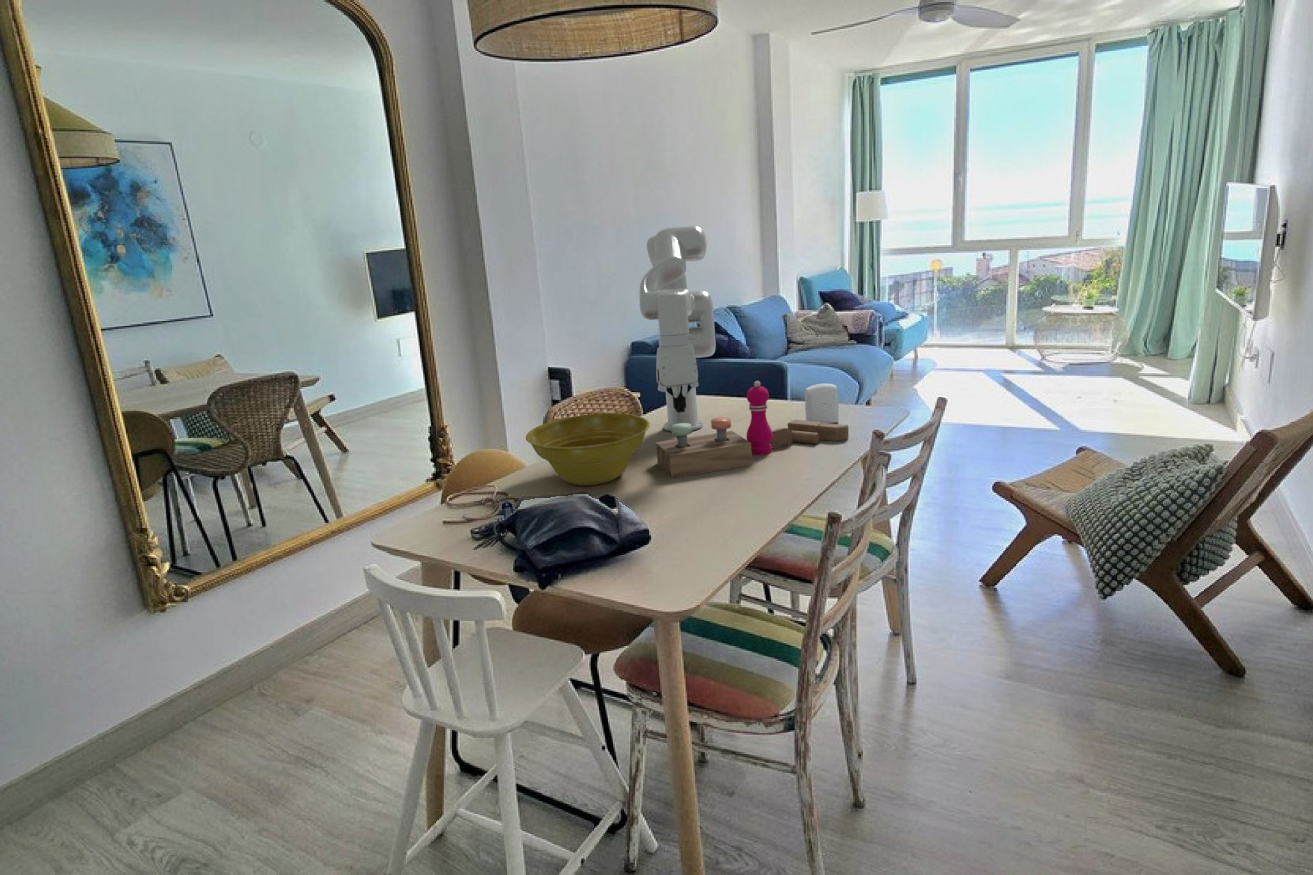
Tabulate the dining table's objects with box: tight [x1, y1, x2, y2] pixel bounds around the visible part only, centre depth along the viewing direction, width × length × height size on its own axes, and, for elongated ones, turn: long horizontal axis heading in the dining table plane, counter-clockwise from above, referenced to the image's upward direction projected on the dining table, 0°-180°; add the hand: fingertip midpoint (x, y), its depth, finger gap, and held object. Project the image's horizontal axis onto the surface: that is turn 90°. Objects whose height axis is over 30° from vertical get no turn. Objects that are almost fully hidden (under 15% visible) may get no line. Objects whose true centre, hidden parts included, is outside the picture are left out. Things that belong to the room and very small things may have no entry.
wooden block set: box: [769, 419, 850, 449], centre depth 212 cm, size 17×6×18 cm
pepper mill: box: [746, 380, 773, 456], centre depth 206 cm, size 7×7×20 cm
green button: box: [671, 423, 692, 448], centre depth 198 cm, size 5×5×8 cm
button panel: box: [655, 430, 753, 479], centre depth 201 cm, size 14×22×6 cm, turn 105°
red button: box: [710, 416, 732, 442], centre depth 201 cm, size 5×5×8 cm
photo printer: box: [804, 383, 839, 424], centre depth 230 cm, size 10×4×12 cm, turn 99°
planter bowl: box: [525, 412, 651, 486], centre depth 197 cm, size 32×32×13 cm
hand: (680, 411), depth 196 cm, fingers closed
